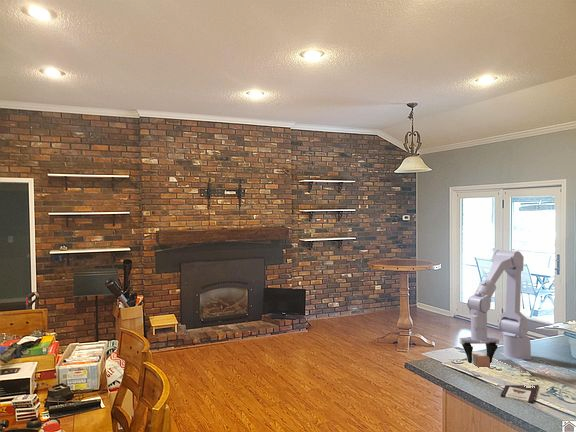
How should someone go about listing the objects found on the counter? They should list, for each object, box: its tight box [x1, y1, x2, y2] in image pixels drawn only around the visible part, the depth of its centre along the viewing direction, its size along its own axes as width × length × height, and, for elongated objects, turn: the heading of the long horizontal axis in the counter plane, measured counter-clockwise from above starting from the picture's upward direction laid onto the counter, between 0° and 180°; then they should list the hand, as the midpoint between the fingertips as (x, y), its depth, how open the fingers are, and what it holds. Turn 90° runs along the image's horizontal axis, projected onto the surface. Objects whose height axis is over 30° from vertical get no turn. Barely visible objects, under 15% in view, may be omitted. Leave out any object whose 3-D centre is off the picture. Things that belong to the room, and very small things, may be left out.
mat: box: [470, 358, 537, 378], centre depth 159 cm, size 22×18×1 cm
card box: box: [472, 351, 490, 368], centre depth 162 cm, size 4×7×4 cm, turn 0°
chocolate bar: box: [500, 384, 539, 405], centre depth 139 cm, size 9×1×18 cm
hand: (479, 362), depth 162 cm, fingers open, 7 cm apart
